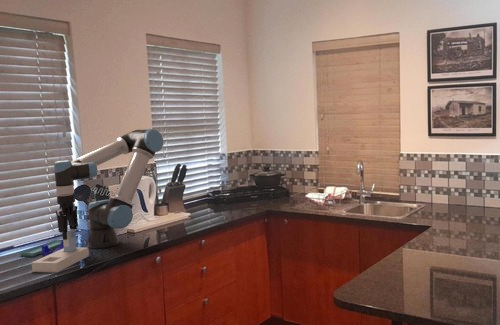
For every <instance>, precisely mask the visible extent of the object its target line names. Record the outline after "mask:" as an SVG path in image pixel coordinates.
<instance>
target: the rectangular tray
mask: <svg viewBox="0 0 500 325" xmlns="http://www.w3.org/2000/svg"><path fill="white" fill-rule="evenodd" d="M61 240H62V239H54V240H52V241H49V242H45V243H42V244H40V245H37V246H34V247H31V248H28V249H25V250H22V251H19V254H20V255H21V257H30V258H31V257H32V258H33V257H34V258H35V257H36V256H40V255H42V246H41V245H44V244H45V245H48V248H49V250H50V251H54V249H55V250H56V249H58V248H59V247H60V245H61Z"/></svg>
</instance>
